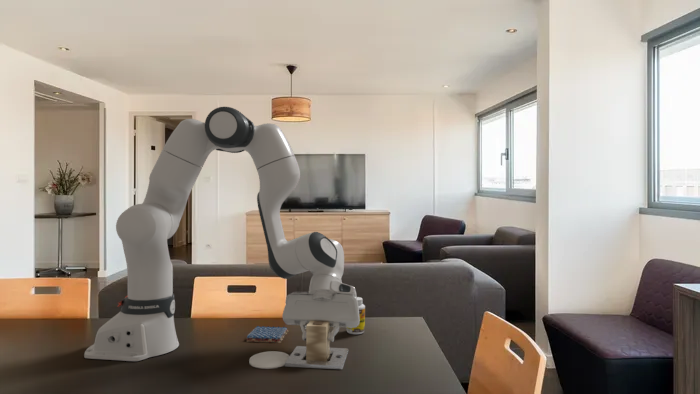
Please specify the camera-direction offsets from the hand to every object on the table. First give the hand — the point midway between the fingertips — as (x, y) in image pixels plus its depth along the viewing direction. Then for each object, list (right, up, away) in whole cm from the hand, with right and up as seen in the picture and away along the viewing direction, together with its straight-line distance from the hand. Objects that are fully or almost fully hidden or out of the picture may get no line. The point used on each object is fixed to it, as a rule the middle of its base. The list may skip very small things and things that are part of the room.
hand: (317, 340), depth 111 cm
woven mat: (-16, -5, +18) cm, 24 cm away
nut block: (0, -5, +1) cm, 5 cm away
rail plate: (0, -5, +1) cm, 5 cm away
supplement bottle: (+10, -5, +22) cm, 25 cm away
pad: (-12, -5, -1) cm, 13 cm away
